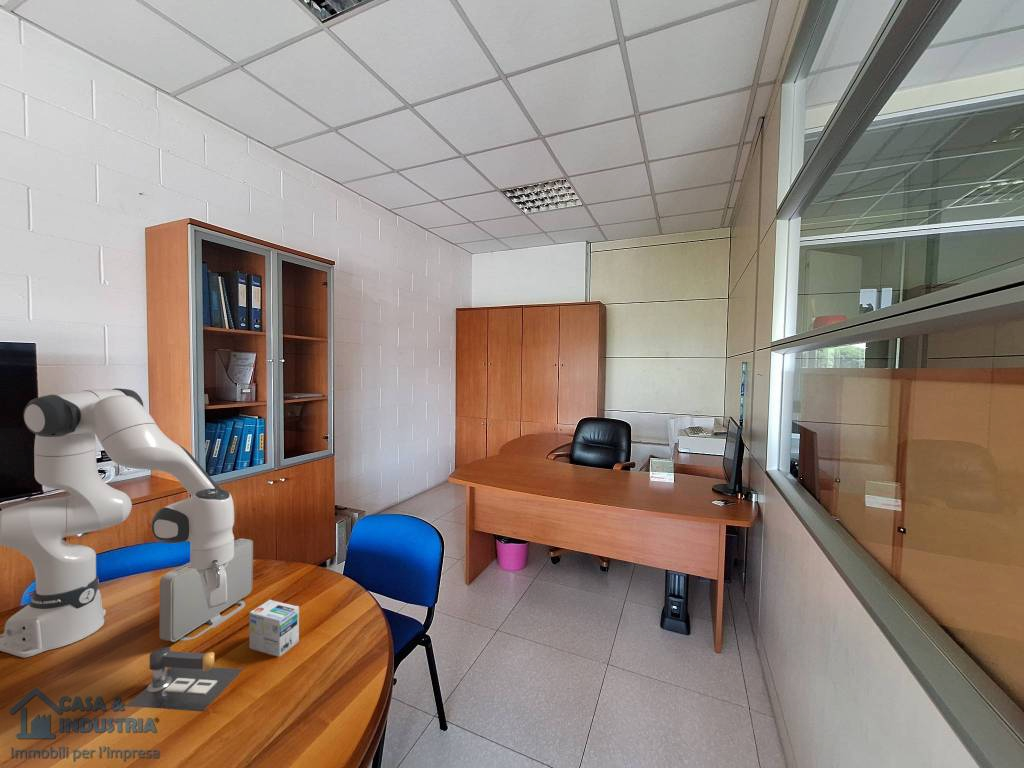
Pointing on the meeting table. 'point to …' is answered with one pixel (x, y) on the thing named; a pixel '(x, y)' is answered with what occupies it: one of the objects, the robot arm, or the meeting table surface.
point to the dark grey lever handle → (181, 659)
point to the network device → (202, 595)
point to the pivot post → (159, 680)
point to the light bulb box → (274, 627)
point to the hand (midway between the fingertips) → (212, 607)
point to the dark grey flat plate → (187, 699)
